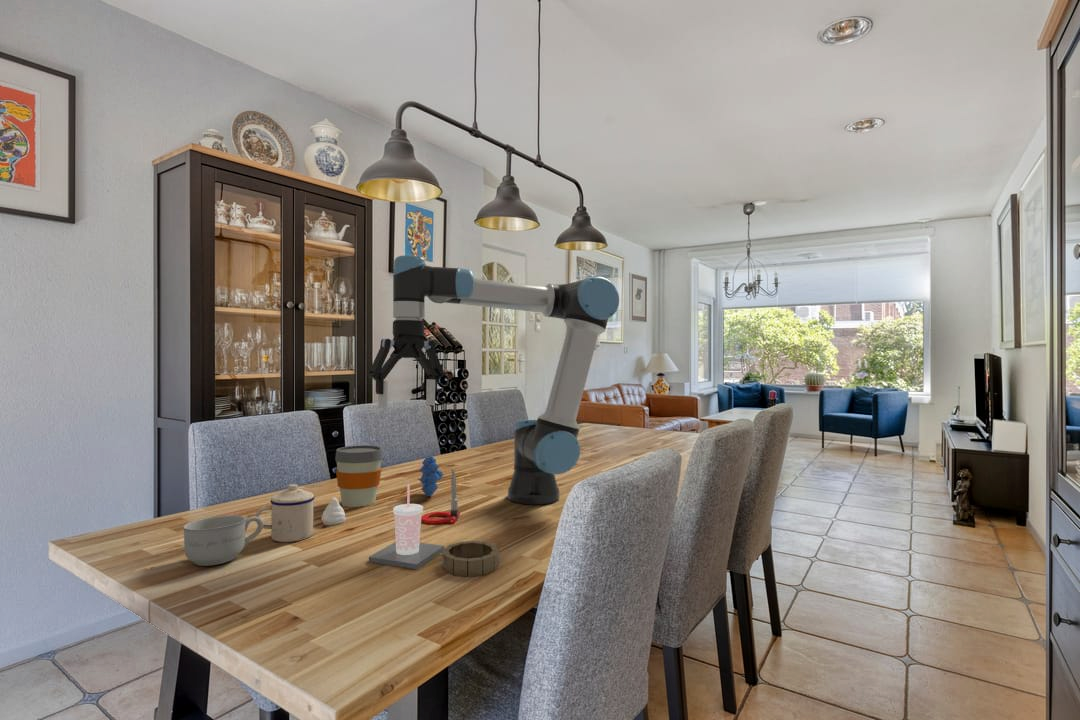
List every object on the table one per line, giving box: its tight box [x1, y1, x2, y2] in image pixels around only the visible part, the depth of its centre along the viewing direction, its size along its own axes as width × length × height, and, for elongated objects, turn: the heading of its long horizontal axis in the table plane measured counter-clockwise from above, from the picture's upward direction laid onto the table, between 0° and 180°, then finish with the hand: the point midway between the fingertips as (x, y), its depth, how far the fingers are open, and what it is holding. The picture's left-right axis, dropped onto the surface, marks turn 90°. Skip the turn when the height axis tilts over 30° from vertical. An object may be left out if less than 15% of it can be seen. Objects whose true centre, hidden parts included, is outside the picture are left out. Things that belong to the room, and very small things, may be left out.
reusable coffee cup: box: [334, 444, 383, 508], centre depth 153 cm, size 13×13×15 cm
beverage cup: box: [392, 482, 424, 555], centre depth 114 cm, size 6×6×14 cm
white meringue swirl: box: [321, 497, 346, 526], centre depth 135 cm, size 6×6×5 cm
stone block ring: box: [441, 540, 500, 578], centre depth 109 cm, size 11×11×3 cm
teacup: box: [182, 514, 264, 567], centre depth 110 cm, size 14×11×8 cm
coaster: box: [368, 541, 445, 570], centre depth 114 cm, size 11×11×1 cm
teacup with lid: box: [255, 483, 315, 543], centre depth 124 cm, size 12×9×12 cm
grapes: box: [419, 456, 444, 497], centre depth 161 cm, size 12×7×12 cm, turn 29°
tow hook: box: [421, 468, 461, 525], centre depth 139 cm, size 8×13×9 cm
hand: (407, 406), depth 135 cm, fingers open, 13 cm apart
